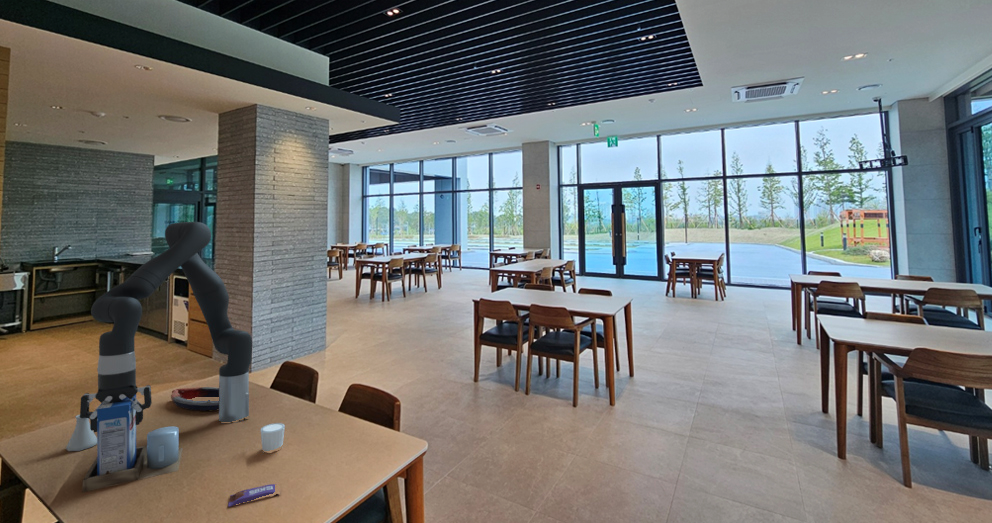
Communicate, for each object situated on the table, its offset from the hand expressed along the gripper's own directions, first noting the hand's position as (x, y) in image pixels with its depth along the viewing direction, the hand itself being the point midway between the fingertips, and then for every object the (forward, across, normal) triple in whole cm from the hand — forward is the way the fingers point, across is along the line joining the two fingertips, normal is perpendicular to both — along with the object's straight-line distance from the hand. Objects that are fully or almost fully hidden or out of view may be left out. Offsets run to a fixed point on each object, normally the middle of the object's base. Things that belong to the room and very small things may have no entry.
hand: (117, 427), depth 109 cm
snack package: (+15, -31, +29) cm, 45 cm away
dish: (+15, -17, -50) cm, 55 cm away
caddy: (+14, -4, 0) cm, 15 cm away
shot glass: (+14, -37, +4) cm, 40 cm away
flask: (+14, +13, -28) cm, 34 cm away
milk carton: (+13, 0, 0) cm, 13 cm away
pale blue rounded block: (+13, -10, 0) cm, 16 cm away
